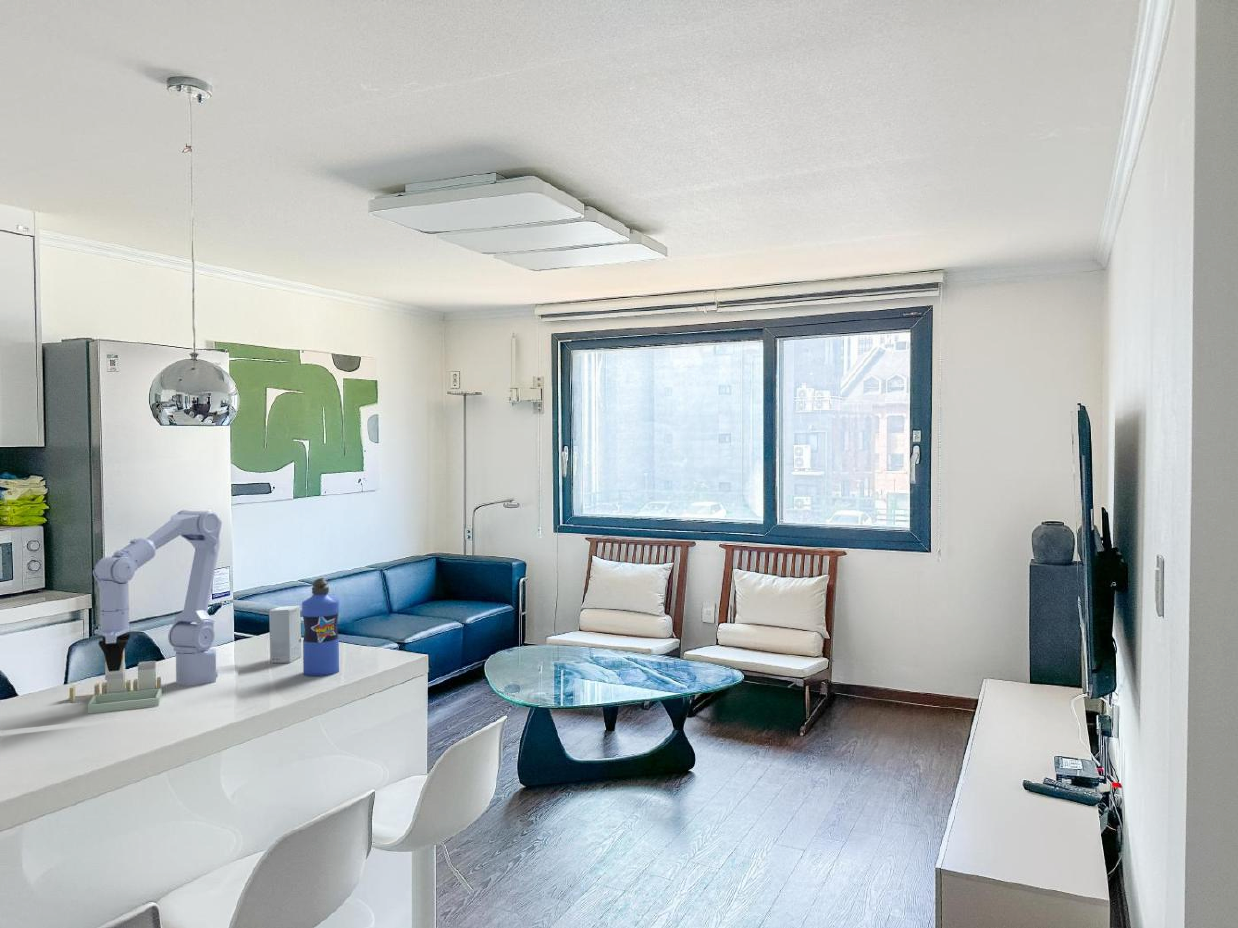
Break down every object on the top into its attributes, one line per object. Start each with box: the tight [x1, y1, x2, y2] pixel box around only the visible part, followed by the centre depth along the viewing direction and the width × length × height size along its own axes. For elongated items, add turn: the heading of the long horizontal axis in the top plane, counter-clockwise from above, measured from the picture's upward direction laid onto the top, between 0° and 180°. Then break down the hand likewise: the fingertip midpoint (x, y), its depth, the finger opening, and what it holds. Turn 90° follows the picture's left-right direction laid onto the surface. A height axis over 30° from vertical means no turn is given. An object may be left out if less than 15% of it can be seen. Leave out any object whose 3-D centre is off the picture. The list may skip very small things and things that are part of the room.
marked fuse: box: [104, 647, 126, 681], centre depth 200 cm, size 4×4×7 cm
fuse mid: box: [106, 675, 127, 694], centre depth 209 cm, size 4×4×7 cm
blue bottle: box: [301, 577, 340, 678], centre depth 233 cm, size 9×9×25 cm
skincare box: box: [268, 605, 303, 664], centre depth 247 cm, size 8×6×15 cm
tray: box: [87, 688, 163, 714], centre depth 201 cm, size 14×9×3 cm, turn 113°
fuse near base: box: [137, 660, 157, 691], centre depth 211 cm, size 4×4×7 cm
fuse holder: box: [64, 676, 165, 705], centre depth 209 cm, size 20×6×4 cm, turn 113°
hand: (115, 668), depth 200 cm, fingers closed on marked fuse, 3 cm apart
